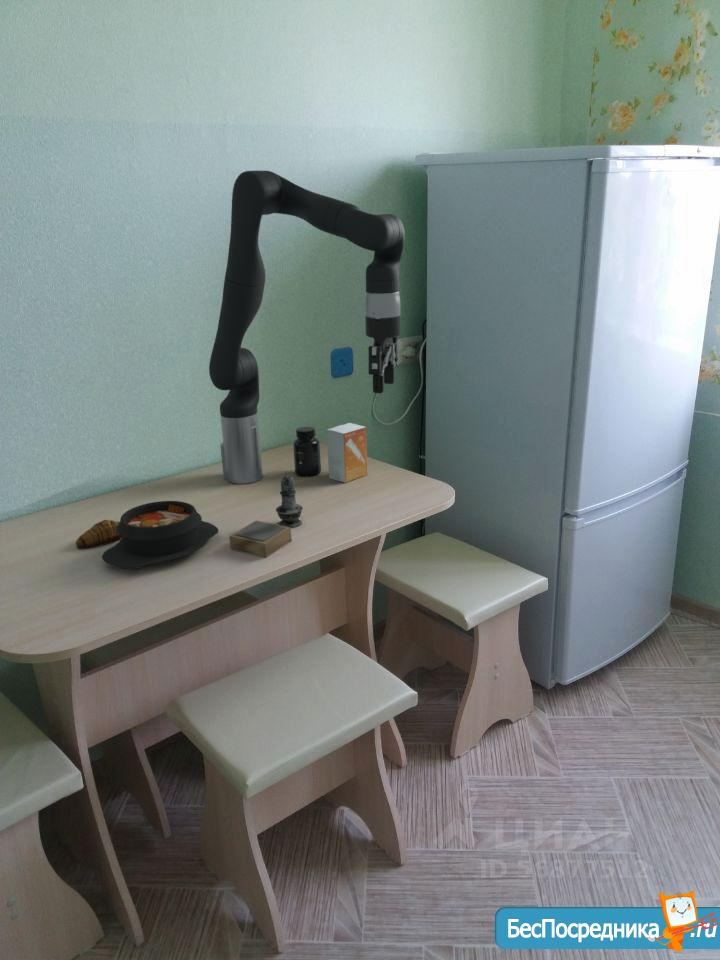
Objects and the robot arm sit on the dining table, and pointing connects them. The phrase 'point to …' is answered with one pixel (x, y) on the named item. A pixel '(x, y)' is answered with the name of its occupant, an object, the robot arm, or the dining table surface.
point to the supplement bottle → (306, 453)
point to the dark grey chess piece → (289, 504)
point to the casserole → (158, 534)
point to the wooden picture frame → (260, 538)
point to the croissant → (99, 535)
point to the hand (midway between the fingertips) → (383, 388)
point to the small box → (347, 452)
